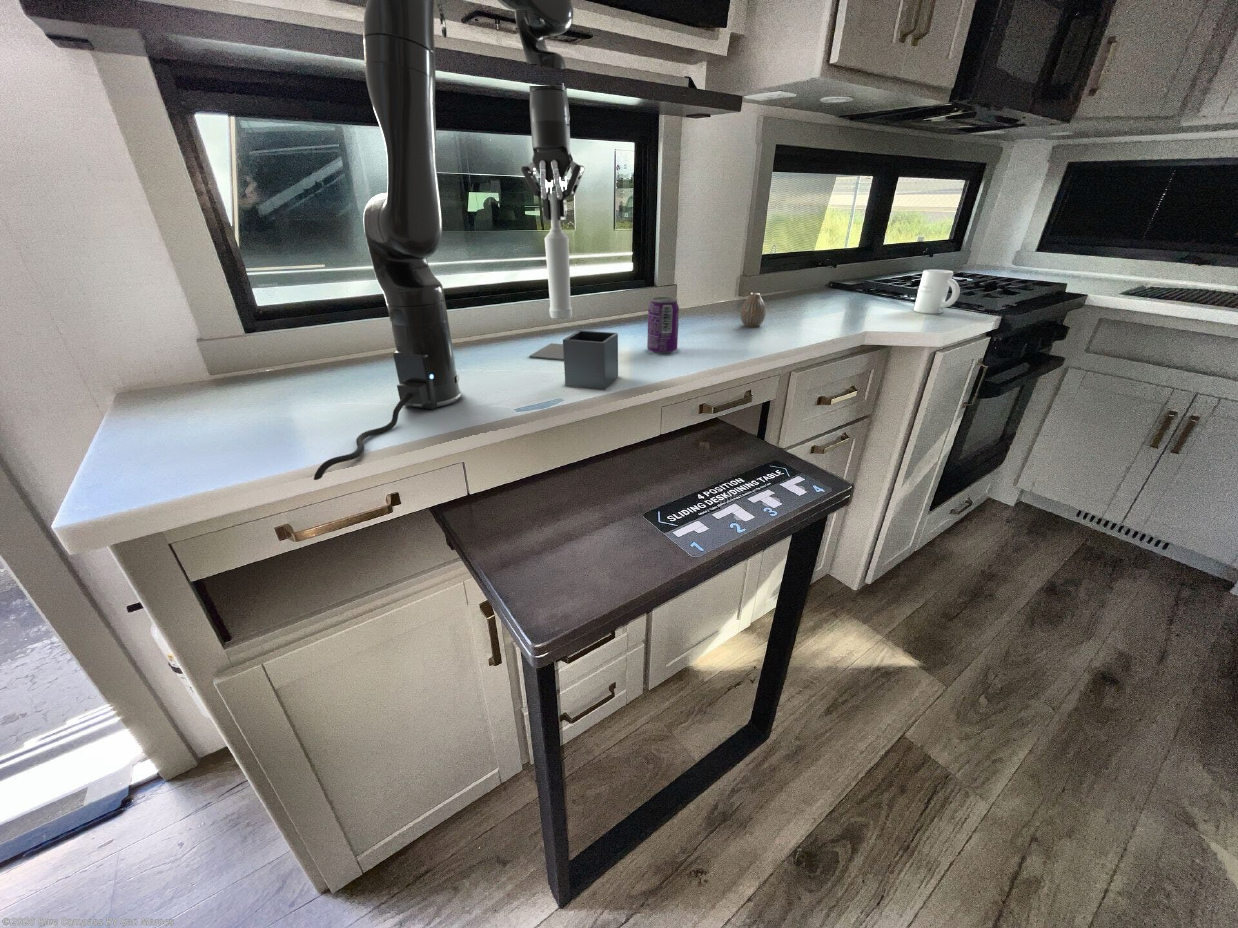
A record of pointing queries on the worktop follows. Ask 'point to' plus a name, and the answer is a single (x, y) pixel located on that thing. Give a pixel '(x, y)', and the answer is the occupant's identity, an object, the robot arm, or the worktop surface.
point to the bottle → (558, 266)
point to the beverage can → (663, 325)
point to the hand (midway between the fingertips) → (555, 219)
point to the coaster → (550, 352)
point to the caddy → (591, 359)
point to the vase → (753, 311)
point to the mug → (936, 291)
